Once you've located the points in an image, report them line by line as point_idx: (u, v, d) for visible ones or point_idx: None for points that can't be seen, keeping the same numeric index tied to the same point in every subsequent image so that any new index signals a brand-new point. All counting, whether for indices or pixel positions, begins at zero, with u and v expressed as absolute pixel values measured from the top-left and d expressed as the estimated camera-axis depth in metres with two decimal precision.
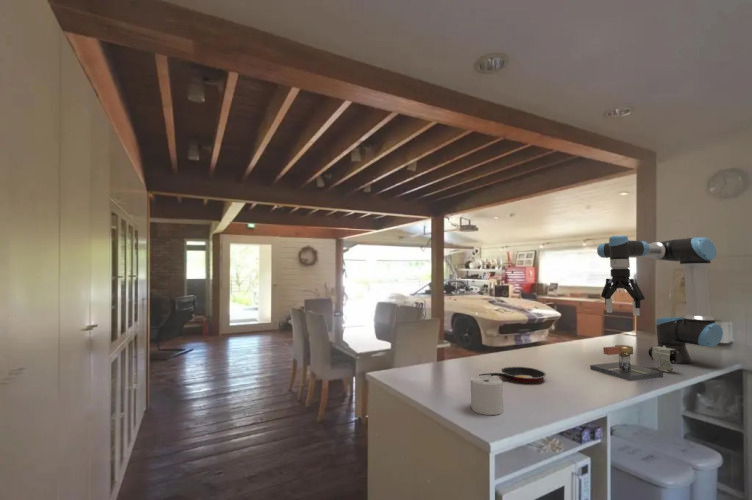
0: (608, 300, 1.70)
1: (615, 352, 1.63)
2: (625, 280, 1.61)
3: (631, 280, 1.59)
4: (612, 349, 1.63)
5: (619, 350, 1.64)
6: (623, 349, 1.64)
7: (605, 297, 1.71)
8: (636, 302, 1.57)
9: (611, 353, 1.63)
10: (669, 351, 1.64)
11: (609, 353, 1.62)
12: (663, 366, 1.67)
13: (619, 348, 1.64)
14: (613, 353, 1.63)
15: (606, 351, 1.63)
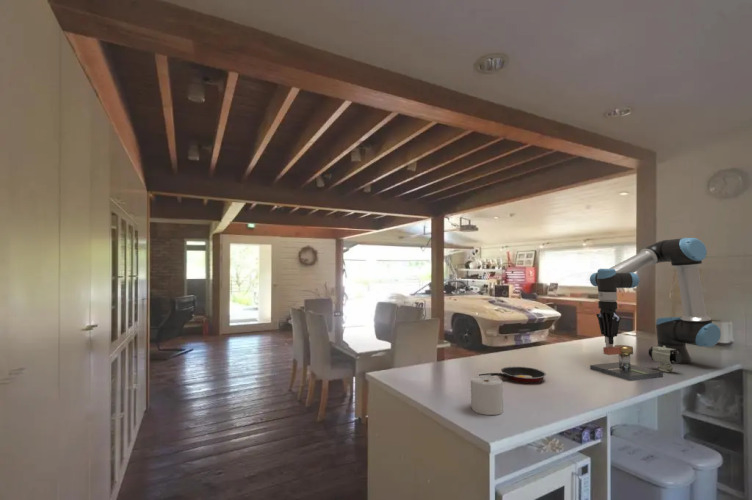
0: None
1: (615, 352, 1.63)
2: (611, 313, 1.64)
3: (615, 318, 1.62)
4: (612, 349, 1.63)
5: (619, 350, 1.64)
6: (623, 349, 1.64)
7: (604, 334, 1.68)
8: (609, 338, 1.66)
9: (611, 353, 1.63)
10: (669, 351, 1.64)
11: (609, 353, 1.62)
12: (663, 366, 1.67)
13: (619, 348, 1.64)
14: (613, 353, 1.63)
15: (606, 351, 1.63)
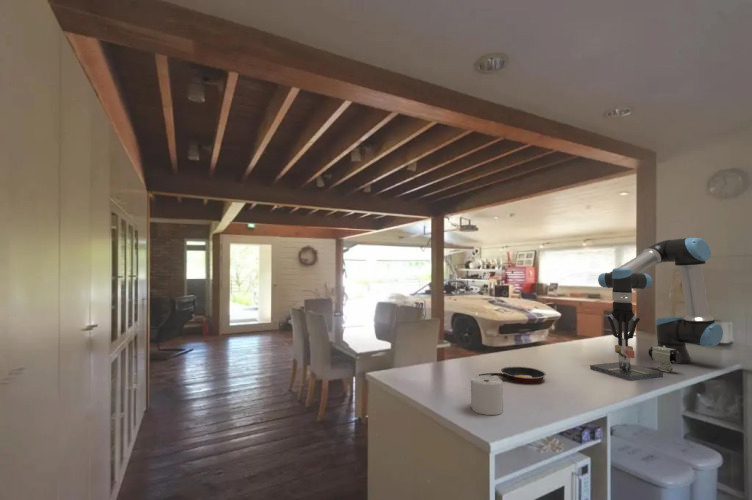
0: None
1: None
2: (632, 315, 1.60)
3: (638, 319, 1.59)
4: None
5: None
6: None
7: (621, 337, 1.61)
8: (626, 340, 1.60)
9: None
10: (669, 351, 1.64)
11: None
12: (663, 366, 1.67)
13: None
14: None
15: (631, 354, 1.56)
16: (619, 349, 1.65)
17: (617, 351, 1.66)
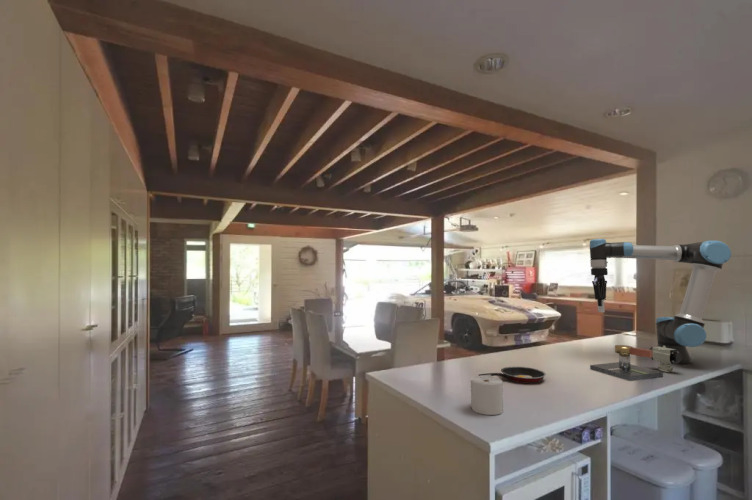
0: None
1: None
2: (604, 278, 1.90)
3: (606, 282, 1.91)
4: None
5: None
6: None
7: (602, 298, 1.86)
8: None
9: None
10: (669, 351, 1.64)
11: None
12: (663, 366, 1.67)
13: None
14: None
15: (651, 354, 1.57)
16: (627, 350, 1.63)
17: (624, 352, 1.63)
